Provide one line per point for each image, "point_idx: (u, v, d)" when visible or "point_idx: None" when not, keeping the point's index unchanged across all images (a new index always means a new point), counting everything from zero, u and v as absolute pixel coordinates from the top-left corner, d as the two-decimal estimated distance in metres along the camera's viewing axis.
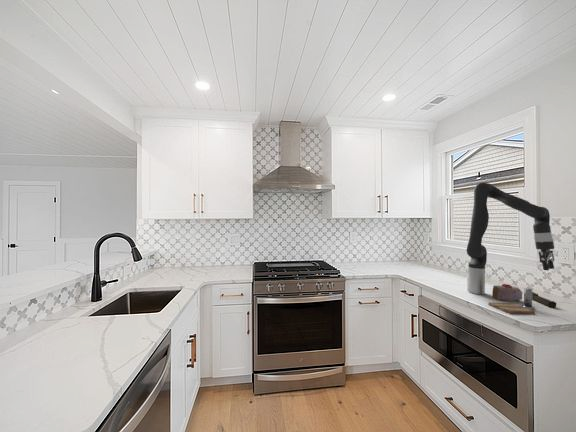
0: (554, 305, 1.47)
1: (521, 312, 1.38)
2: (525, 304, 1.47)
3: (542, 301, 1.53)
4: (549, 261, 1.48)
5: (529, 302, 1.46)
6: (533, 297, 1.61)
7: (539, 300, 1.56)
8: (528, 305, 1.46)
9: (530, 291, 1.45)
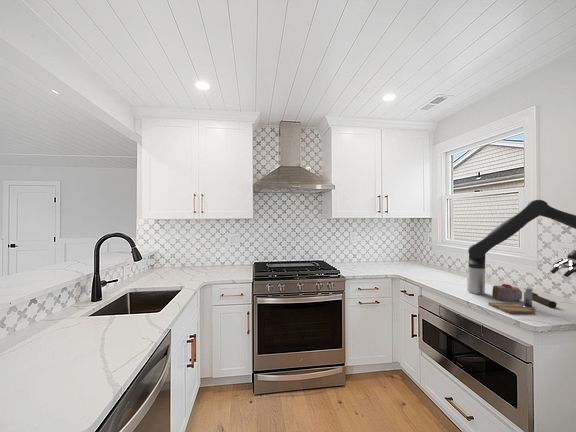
0: (554, 305, 1.47)
1: (521, 312, 1.38)
2: (525, 304, 1.47)
3: (542, 301, 1.53)
4: (557, 267, 1.48)
5: (529, 302, 1.46)
6: (533, 297, 1.61)
7: (539, 300, 1.56)
8: (528, 305, 1.46)
9: (530, 291, 1.45)
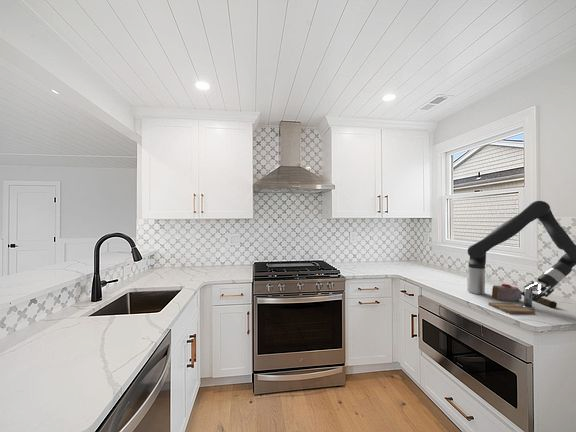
0: (555, 305, 1.47)
1: (521, 312, 1.38)
2: (525, 304, 1.47)
3: (542, 301, 1.53)
4: None
5: (529, 302, 1.46)
6: None
7: (538, 300, 1.56)
8: (528, 305, 1.46)
9: (530, 291, 1.45)
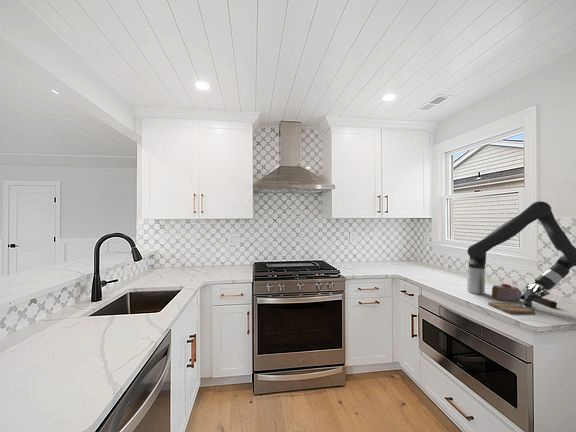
0: (555, 305, 1.47)
1: (521, 312, 1.38)
2: (525, 304, 1.47)
3: (542, 301, 1.53)
4: None
5: (529, 302, 1.46)
6: None
7: (538, 300, 1.56)
8: (528, 305, 1.46)
9: (530, 291, 1.45)
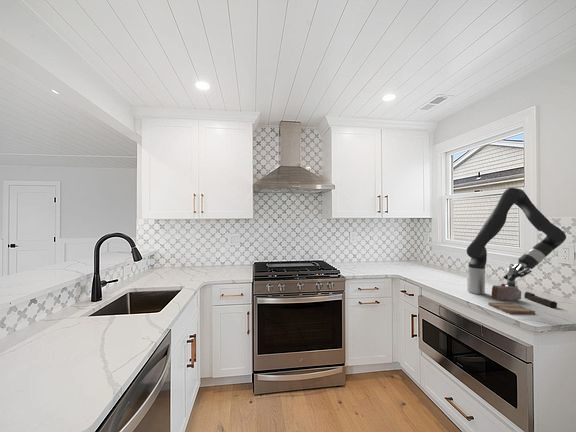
0: (555, 305, 1.48)
1: (521, 312, 1.38)
2: (508, 283, 1.45)
3: (542, 301, 1.53)
4: None
5: (512, 281, 1.43)
6: (530, 297, 1.61)
7: (538, 300, 1.56)
8: (511, 284, 1.44)
9: (513, 270, 1.43)
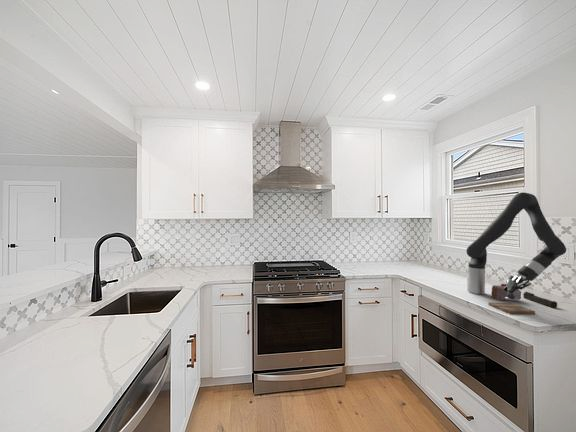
0: (556, 305, 1.48)
1: (521, 312, 1.38)
2: (508, 295, 1.45)
3: (542, 301, 1.53)
4: None
5: (512, 293, 1.43)
6: (530, 297, 1.61)
7: (538, 300, 1.55)
8: (511, 296, 1.43)
9: (513, 282, 1.43)
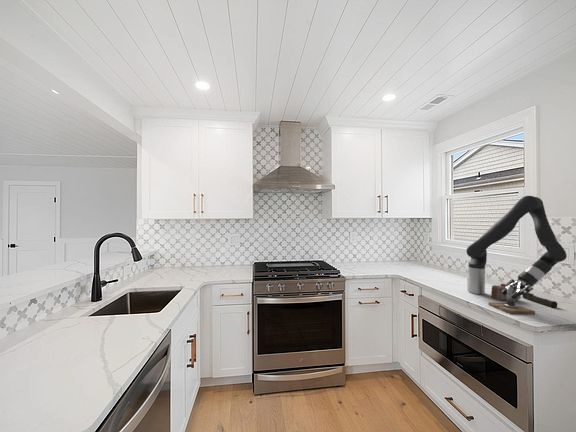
0: (556, 305, 1.48)
1: (521, 312, 1.38)
2: (508, 302, 1.45)
3: (542, 301, 1.53)
4: None
5: (512, 300, 1.43)
6: (529, 297, 1.61)
7: (538, 300, 1.55)
8: (511, 303, 1.43)
9: (512, 289, 1.43)
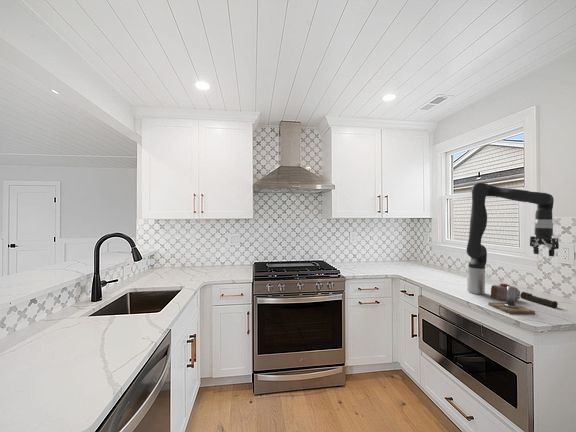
0: (556, 305, 1.48)
1: (521, 312, 1.38)
2: (508, 302, 1.45)
3: (542, 301, 1.53)
4: (536, 247, 1.53)
5: (512, 300, 1.43)
6: (528, 297, 1.60)
7: (537, 300, 1.55)
8: (511, 303, 1.43)
9: (513, 289, 1.43)
